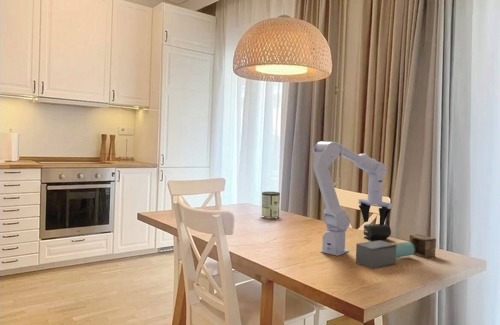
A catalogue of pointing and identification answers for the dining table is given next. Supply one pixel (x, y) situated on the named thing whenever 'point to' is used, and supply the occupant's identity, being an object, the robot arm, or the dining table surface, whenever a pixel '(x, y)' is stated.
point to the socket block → (423, 245)
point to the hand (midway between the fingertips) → (373, 223)
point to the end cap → (377, 231)
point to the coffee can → (270, 204)
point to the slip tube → (404, 249)
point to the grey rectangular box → (375, 254)
